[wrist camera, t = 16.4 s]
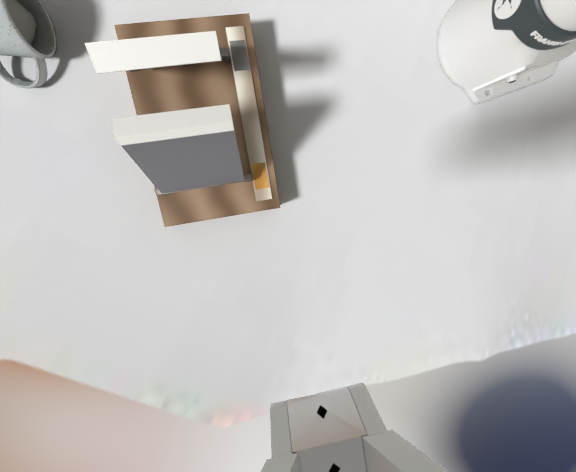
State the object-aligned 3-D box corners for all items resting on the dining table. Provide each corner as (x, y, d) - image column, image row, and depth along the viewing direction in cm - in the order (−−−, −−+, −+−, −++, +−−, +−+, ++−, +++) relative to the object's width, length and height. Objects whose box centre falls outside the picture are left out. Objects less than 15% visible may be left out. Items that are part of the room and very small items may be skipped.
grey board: (242, 168, 37) (229, 104, 26) (244, 182, 36) (232, 121, 26) (160, 180, 36) (112, 118, 25) (161, 194, 35) (112, 137, 24)
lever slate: (219, 41, 33) (215, 30, 24) (223, 62, 34) (221, 60, 25) (126, 50, 32) (84, 43, 22) (134, 72, 33) (96, 73, 24)
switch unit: (249, 30, 39) (249, 3, 33) (277, 205, 44) (281, 208, 38) (128, 42, 37) (106, 15, 32) (172, 223, 42) (160, 228, 37)
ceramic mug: (-19, 2, 34) (-94, -49, 27) (50, 4, 35) (-3, -44, 28) (1, 91, 36) (-62, 67, 29) (67, 91, 37) (21, 68, 30)
